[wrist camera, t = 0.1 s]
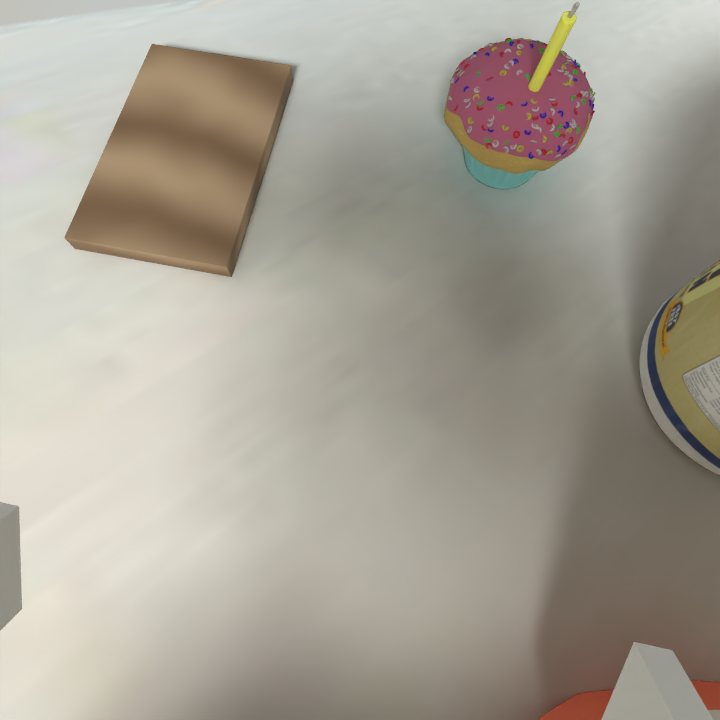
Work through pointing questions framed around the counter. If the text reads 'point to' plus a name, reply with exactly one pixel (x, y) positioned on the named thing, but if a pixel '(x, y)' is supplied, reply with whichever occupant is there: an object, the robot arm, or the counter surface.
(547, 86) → the cupcake
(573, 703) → the french fries container
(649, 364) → the supplement tub
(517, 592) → the counter surface
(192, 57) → the cutting board
